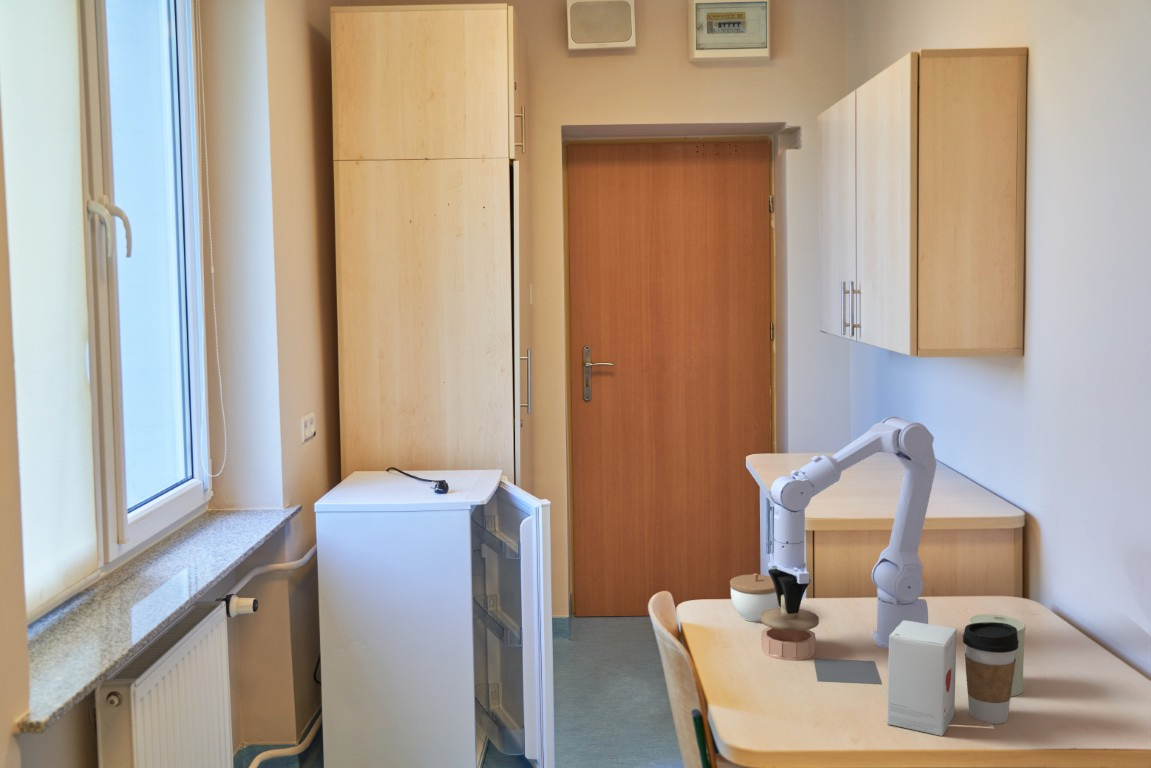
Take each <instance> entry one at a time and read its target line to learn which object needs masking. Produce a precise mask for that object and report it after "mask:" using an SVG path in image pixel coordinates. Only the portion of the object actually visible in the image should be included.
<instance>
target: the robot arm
mask: <svg viewBox="0 0 1151 768" xmlns="http://www.w3.org/2000/svg"><path fill="white" fill-rule="evenodd" d="M934 439H935V437H934V435H933V434H932V433H931V432H930V430H929V429H928V428H927V427H926V426H925V425H924V424H922V423H920V422H914V421H909V420H906V419H901V418H899V417H897V416H888V417H886V418H884V419H883V420H881V422H876V423H875V424H873V425H872V426H871V427H870V428H869V430H867V431H866V432H865V433H864V434H861V436H859V437H858V438H856V439H855V440H853V441H852V442H850V443H849V444H847V445H846V446H845V447H843V448H841V449H840V450H839V451H838V452H836V453H834V454H833V455H832V456H828V455H824V454H822V455H820V456H819V455H814V456H812V457H811V458H810V459H811V461H810V462H808V463H807V464H805V465H804V466H801V467H800V468H799V469H797V470H796V469H793V470H791V471H790V476H789V475H786V476H785V475H782V476H779V477H778V478H776V479H774V481H773V482H772V483H773V484H771V487H770V489H769V490H768V495H769V498H770V500H771V501H772V502H773V504H774V509H773V510H774V511H773V513H774V515H773V552H770V553H769V562H767V567H768V568H769V569H768V576H770V577H771V579H772V581H773V584H774V587H775V590H776V595H777V600H778V604H779V606H778V608H781V595H783V594H784V598H785V607H786V612H787V613H788V614H793V613H798V612H799V609H801V605H802V604H801V603H802V600H803V597H804V594H805V592H806V590H807V588H808V586H809V585H810V583H811V578H810V572H809V571H808V569H807V566H806V565H807V564H806V562H805V541H806V540H805V539H806V538H805V531H806V529H805V525H806V523H805V521H806V520H805V519H806V518H805V516H806V514H805V513H806V512H805V511H806V510H805V509H806V508H807V507H808V506H809V504H810V503H811V500H812V498H813V497H815V496H816V495H818V494H820V493H821V492H823V491H824V490H826V489H828V488H830V487H831V486H833V485H834V484H835V483H838V482H839V481H840V479H841V475H842V472H843V471H845V470H846V469H849V468H851V467H852V466H854V465H856V464H858V463H860V462H861V461H864V460H865V459H867V458H869V457H871V456H873V455H874V454H877V453H887V454H888V453H889V454H894V455H895V457H896V458H897V459H898V460H899V462H900V463H901V464H902V465H903V466H904V469H905V470H904V475H903V479H902V482H901V483H902V484H901V488H900V492H899V493H900V494H899V496H898V497H899V498H898V501H897V506H896V510H895V516H894V520H893V524H892V527H891V528H892V529H891V534H890V538H889V543H888V546H887V547H885V549H883V550H882V551H881V552H880V554H879V558H878V559H877V562H876V563H875V564H874V566H873V568H872V571H871V575H870V576H871V581H872V583H873V584H874V586H875V587H876V589H877V590H876V593H877V600H876V602H877V604H876V606H877V608H876V610H877V611H876V613H877V614H876V631H872V636H873V639H874V642H875V645H876V647H877V648H885V649H886V648H888V649H889V636H890V635H891V633H892V632H893V631H894V630H895V628H896V627H897V626H899V625H900V624H901V622H902V621H904V620H906V621H913V622H918V623H924V624H929V608H928V602H927V599H925V598H920V596H921V595H922V594H923V591H924V580H923V575H922V574H923V569H924V566H923V564H922V562H921V560H920V557H919V554H918V552H919V547H920V542H921V538H922V533H923V529H924V525H925V520H926V517H927V516H926V515H927V511H928V506H929V502H930V496H931V492H932V490H933V489H932V488H933V483H934V480H935V474H936V470H937V460H936V456H935V451H934V447H933V443H934Z"/></svg>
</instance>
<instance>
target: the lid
mask: <svg viewBox="0 0 1151 768" xmlns="http://www.w3.org/2000/svg"><path fill="white" fill-rule="evenodd" d="M760 621H761V622H760V623H761V624H763V626H766V627H767V628H768V627H771V628H774V629H779V630H787V631H802V630H808V629H809V630H811V629H815V628H817V627H818V625H819V624H820V617H819V616H818V615H817V614H816V613H815V612H811V611H809V610H806V609H802V608H799V612H798V613H793V614H788V613H787V612H786V607H785V598H784V594H783V595H781V607H778V608H773V609H769V610H765V611H763V612H762V613H761V614H760Z"/></svg>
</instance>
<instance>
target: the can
mask: <svg viewBox="0 0 1151 768" xmlns="http://www.w3.org/2000/svg"><path fill="white" fill-rule="evenodd" d="M968 622H969V623H968V625H969V624H973V623H982V622H997V623H1005V624H1009V625H1011V626H1013V627H1015V628H1016V629H1017V636H1018V641H1019V643H1018V646H1019V647H1018V649H1017V650H1015V659H1016V662H1015V669H1014V676H1013V683H1012V691H1011V697H1016V696H1019V695H1021V694H1022V693H1023V692H1024V690H1025V687H1024V663H1025V662H1024V658H1025V655H1024V654H1025V636H1026V635H1025V634H1026V633H1025V632H1026V624H1025V623H1024V622H1023V621H1021V620H1019V619H1018V618H1014V617H1011V616H1006V615H1002V614H992V613H991V614H990V613H985V614H978V615H974V616H973V615H972V616H970V618H969V619H968Z"/></svg>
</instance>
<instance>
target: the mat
mask: <svg viewBox="0 0 1151 768" xmlns="http://www.w3.org/2000/svg"><path fill="white" fill-rule="evenodd" d="M813 662H814V669H815V674H816V681H817V682H821V683H822V682H823V683H824V682H825V683H845V684H865V685H882V681H881V678H880V674H879V672H878V671H879V670H878V669H877V665H876V663H875V660H863V659H862V660H860V659H842V658H841V659H839V658H816V657H815V658H813Z"/></svg>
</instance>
